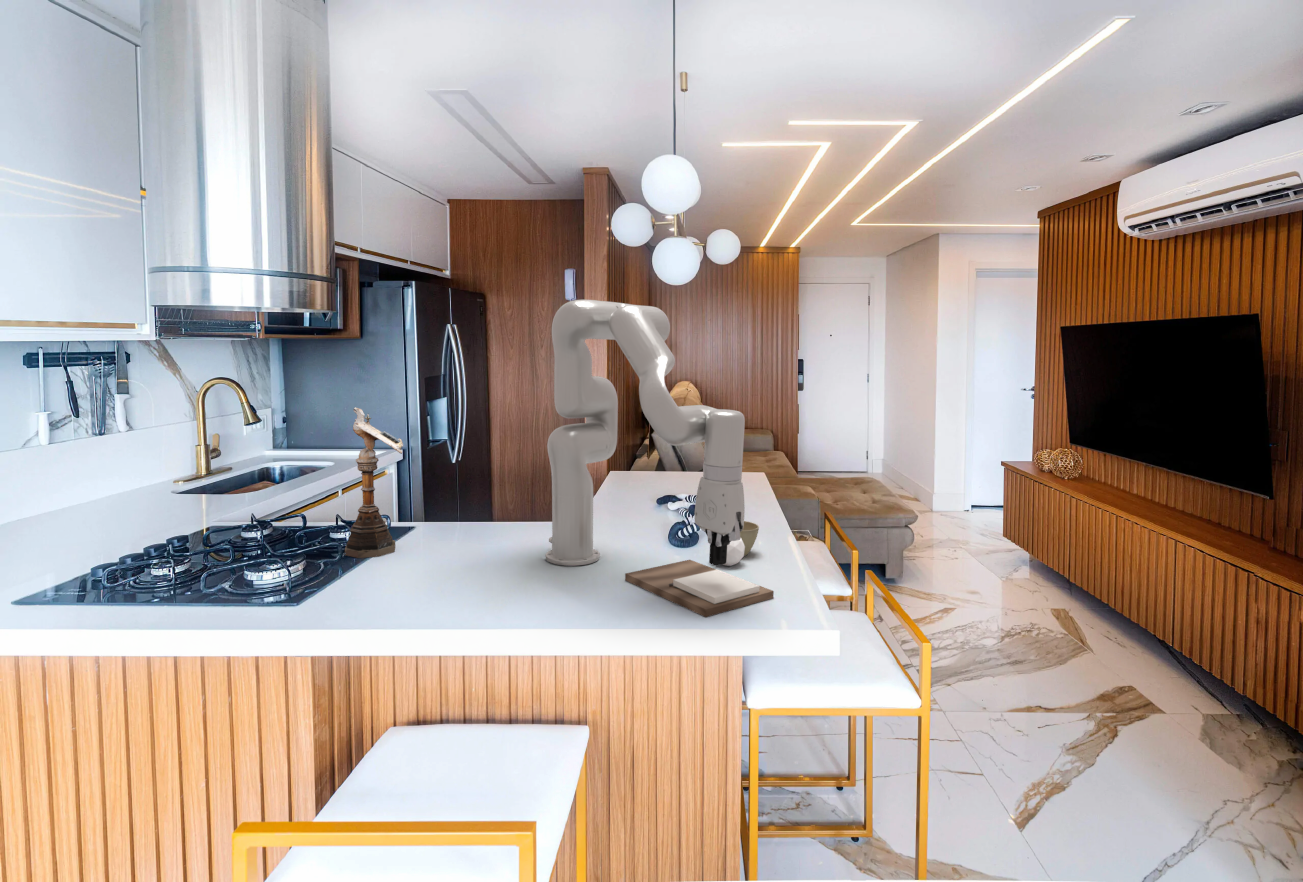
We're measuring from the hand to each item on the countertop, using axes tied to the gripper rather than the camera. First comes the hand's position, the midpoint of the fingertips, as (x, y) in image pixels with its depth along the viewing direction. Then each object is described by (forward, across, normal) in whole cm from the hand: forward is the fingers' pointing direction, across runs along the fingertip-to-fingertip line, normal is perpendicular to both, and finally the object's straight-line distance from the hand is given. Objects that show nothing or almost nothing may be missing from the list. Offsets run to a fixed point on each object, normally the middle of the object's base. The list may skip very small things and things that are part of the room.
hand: (717, 563), depth 144 cm
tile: (+4, 0, 0) cm, 4 cm away
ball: (+8, -15, +17) cm, 24 cm away
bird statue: (+10, -72, -44) cm, 85 cm away
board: (+7, -6, 0) cm, 9 cm away
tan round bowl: (+8, -20, +25) cm, 33 cm away
